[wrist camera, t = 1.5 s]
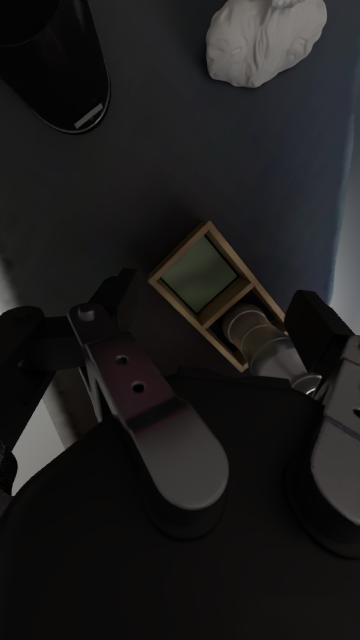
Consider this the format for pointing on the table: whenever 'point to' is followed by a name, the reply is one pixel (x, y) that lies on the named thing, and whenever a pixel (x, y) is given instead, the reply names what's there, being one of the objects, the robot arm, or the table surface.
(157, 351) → the table surface
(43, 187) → the table surface
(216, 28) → the bust
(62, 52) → the robot arm
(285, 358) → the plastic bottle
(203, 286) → the brown open rectangular box
